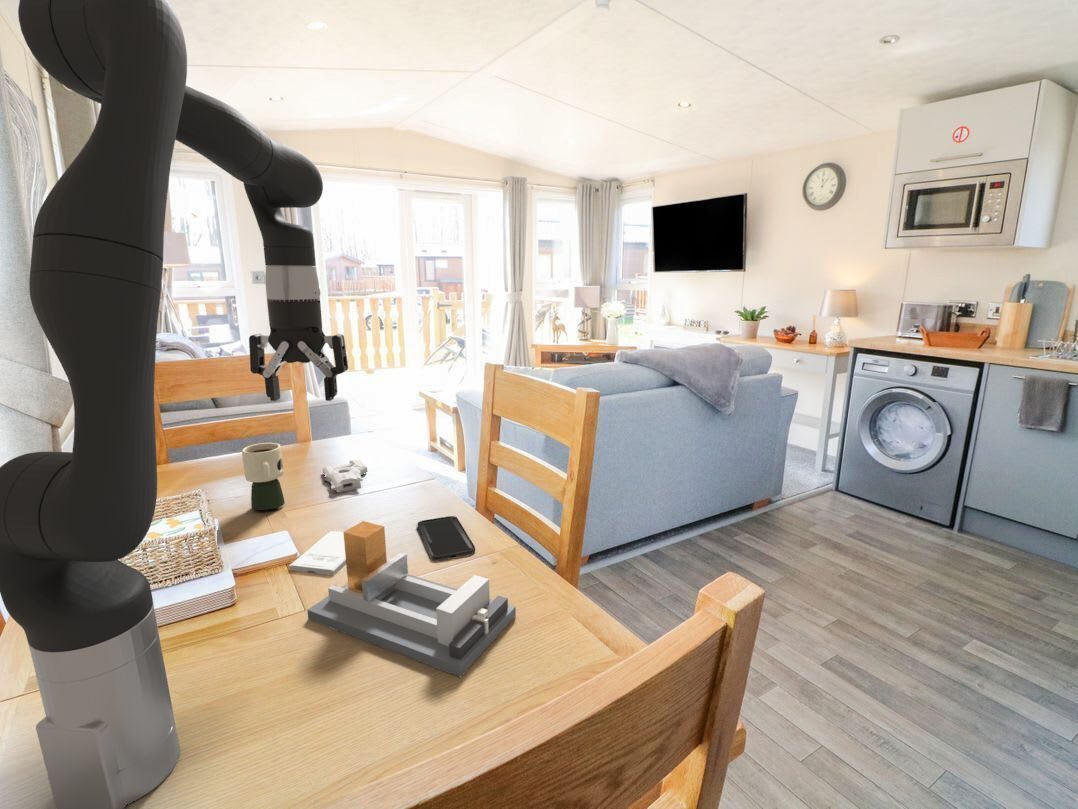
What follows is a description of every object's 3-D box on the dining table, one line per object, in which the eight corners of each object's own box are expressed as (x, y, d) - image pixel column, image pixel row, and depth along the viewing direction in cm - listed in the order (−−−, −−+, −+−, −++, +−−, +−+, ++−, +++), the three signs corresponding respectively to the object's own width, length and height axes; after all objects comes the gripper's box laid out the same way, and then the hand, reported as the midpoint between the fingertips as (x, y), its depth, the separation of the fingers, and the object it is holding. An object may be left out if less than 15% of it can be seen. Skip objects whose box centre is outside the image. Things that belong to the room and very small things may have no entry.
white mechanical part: (377, 474, 127) (330, 482, 122) (378, 488, 128) (332, 497, 123) (359, 454, 143) (317, 462, 138) (360, 468, 143) (319, 475, 139)
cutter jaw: (332, 601, 82) (326, 536, 80) (373, 573, 89) (368, 514, 87) (369, 614, 79) (364, 547, 77) (408, 584, 86) (405, 523, 84)
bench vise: (308, 619, 81) (303, 578, 79) (376, 572, 93) (373, 536, 92) (460, 677, 70) (459, 630, 68) (515, 615, 82) (515, 575, 80)
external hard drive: (370, 542, 104) (334, 578, 93) (330, 538, 106) (289, 573, 94) (370, 534, 104) (333, 569, 92) (329, 530, 106) (288, 564, 94)
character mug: (291, 513, 115) (284, 452, 112) (252, 521, 112) (244, 458, 108) (283, 494, 124) (276, 438, 121) (246, 501, 121) (239, 443, 117)
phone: (455, 515, 113) (476, 549, 99) (455, 520, 113) (476, 555, 100) (415, 521, 110) (431, 557, 96) (416, 526, 110) (431, 563, 97)
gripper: (234, 297, 83) (246, 405, 87) (333, 297, 84) (341, 405, 87) (256, 295, 90) (267, 395, 94) (347, 295, 91) (354, 394, 95)
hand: (302, 399), depth 91 cm, fingers open, 8 cm apart
